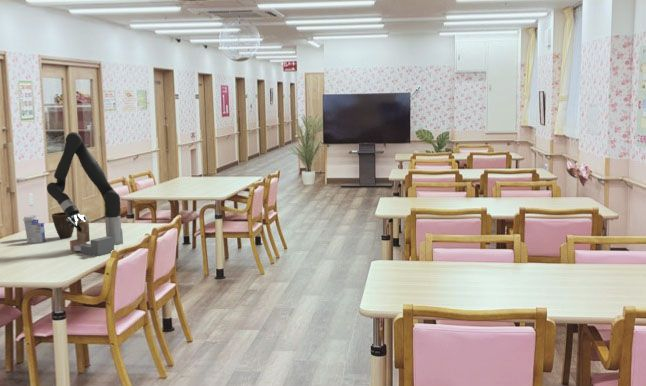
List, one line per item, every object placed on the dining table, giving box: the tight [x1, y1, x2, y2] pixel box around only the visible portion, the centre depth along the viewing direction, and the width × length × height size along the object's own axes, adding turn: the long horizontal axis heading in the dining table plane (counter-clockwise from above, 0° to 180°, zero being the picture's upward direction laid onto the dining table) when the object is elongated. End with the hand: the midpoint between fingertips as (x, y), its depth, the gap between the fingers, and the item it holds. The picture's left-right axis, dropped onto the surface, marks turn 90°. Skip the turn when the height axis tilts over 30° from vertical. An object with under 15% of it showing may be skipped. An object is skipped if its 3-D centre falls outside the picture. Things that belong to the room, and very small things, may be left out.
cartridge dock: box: [80, 235, 115, 257], centre depth 428 cm, size 15×12×9 cm
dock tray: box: [69, 238, 91, 252], centre depth 434 cm, size 10×11×6 cm
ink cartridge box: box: [25, 219, 46, 244], centre depth 464 cm, size 10×6×14 cm, turn 89°
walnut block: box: [76, 220, 91, 243], centre depth 433 cm, size 5×5×12 cm
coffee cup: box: [23, 214, 39, 236], centre depth 476 cm, size 10×10×15 cm
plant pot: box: [51, 211, 75, 240], centre depth 478 cm, size 15×15×16 cm
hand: (84, 230), depth 432 cm, fingers closed on walnut block, 5 cm apart
